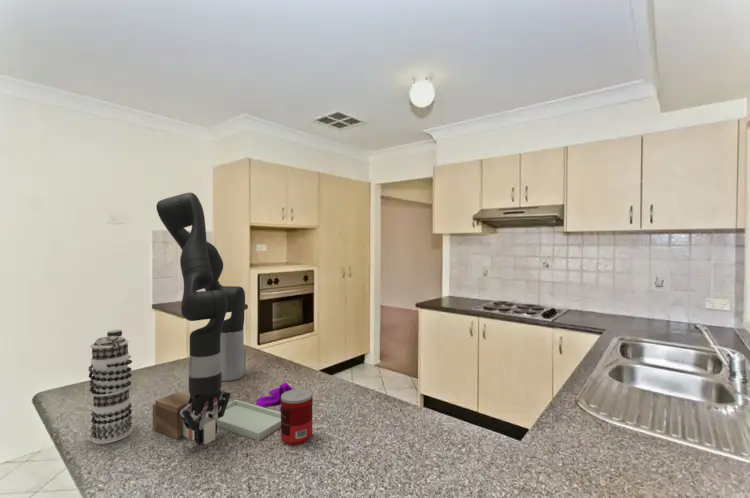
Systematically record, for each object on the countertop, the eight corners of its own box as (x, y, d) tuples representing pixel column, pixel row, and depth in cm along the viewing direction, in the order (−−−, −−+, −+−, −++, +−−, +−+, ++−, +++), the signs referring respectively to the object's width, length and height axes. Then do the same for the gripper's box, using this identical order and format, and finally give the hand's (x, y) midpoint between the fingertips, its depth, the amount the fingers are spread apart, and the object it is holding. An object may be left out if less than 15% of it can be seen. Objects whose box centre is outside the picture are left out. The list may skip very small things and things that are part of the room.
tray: (235, 405, 116) (235, 399, 116) (290, 421, 105) (290, 415, 105) (201, 421, 105) (201, 414, 105) (258, 440, 95) (258, 433, 95)
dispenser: (176, 419, 106) (176, 391, 106) (200, 428, 101) (200, 398, 101) (152, 429, 100) (152, 399, 100) (177, 439, 95) (176, 407, 95)
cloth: (300, 420, 107) (300, 398, 107) (242, 413, 112) (242, 392, 111) (329, 390, 129) (329, 372, 129) (278, 385, 133) (278, 367, 133)
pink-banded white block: (180, 426, 103) (180, 407, 102) (215, 439, 96) (215, 418, 96) (169, 431, 100) (169, 411, 100) (204, 444, 93) (204, 423, 93)
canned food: (317, 432, 99) (317, 390, 99) (302, 448, 92) (302, 402, 91) (291, 427, 102) (291, 386, 101) (274, 442, 94) (274, 398, 94)
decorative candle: (138, 424, 103) (136, 332, 103) (126, 441, 94) (124, 340, 94) (99, 429, 101) (96, 335, 100) (83, 447, 92) (80, 343, 91)
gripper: (218, 361, 103) (219, 424, 103) (169, 377, 91) (169, 449, 91) (238, 365, 99) (238, 431, 100) (189, 382, 87) (190, 458, 87)
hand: (205, 439), depth 95 cm, fingers closed on pink-banded white block, 2 cm apart
